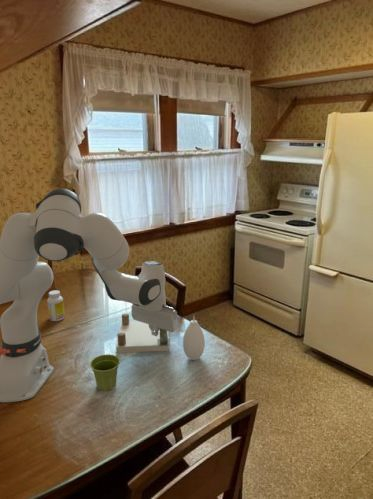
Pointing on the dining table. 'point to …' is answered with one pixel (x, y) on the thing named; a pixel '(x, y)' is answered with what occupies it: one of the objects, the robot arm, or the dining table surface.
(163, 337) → the swing leg
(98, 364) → the plant pot
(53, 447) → the dining table surface
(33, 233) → the robot arm
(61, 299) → the supplement bottle
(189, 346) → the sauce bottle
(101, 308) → the dining table surface
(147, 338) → the stool seat
